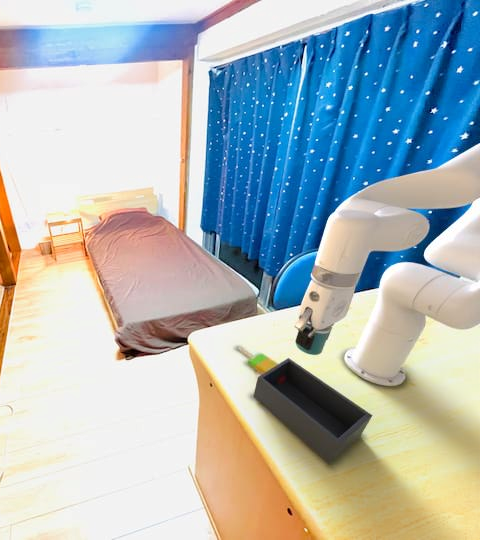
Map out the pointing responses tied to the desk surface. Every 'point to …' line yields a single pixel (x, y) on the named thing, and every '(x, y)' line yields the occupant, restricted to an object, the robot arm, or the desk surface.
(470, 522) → the desk surface
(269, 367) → the popsicle
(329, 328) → the paper cup
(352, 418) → the bin
